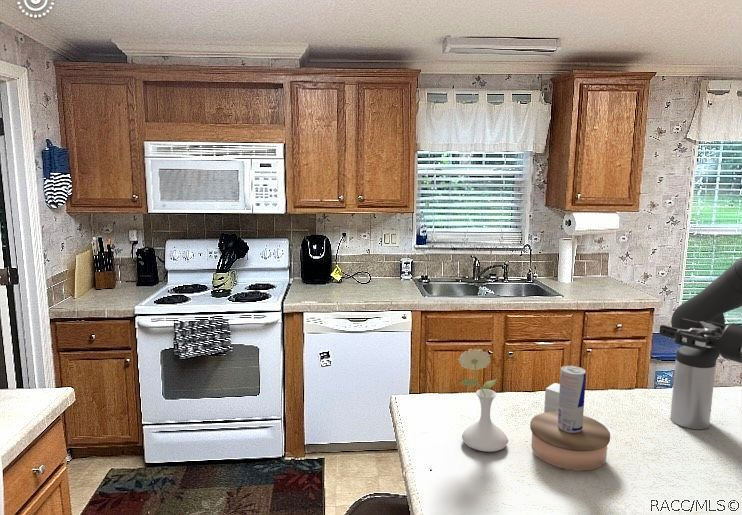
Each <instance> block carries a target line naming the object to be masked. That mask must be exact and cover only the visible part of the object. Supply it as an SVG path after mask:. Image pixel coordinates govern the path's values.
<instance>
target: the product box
mask: <svg viewBox="0 0 742 515" xmlns="http://www.w3.org/2000/svg"><path fill="white" fill-rule="evenodd" d="M559 390H560V383H557V382H554V383H552V384H550V385H548V387H546V388H545V392H544V393H545V394H544V408H543V413H545V412H553V411H558V408H559Z"/></svg>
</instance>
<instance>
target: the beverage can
mask: <svg viewBox="0 0 742 515" xmlns="http://www.w3.org/2000/svg"><path fill="white" fill-rule="evenodd" d="M586 372H587V371H586V369H584V368H582V367H579V366H575V365H564V366H561V368H560V374H559V375H560V378H559V384H560V390H559V408H558V427H559V428H560V429H561V430H563V431H565V432H569V433H577V432H580V431H582V429H583V415H584V413H585V412H584V410H585V409H584V408H585V394H586V379H587V378H586V377H587V374H586Z"/></svg>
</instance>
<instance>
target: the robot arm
mask: <svg viewBox="0 0 742 515" xmlns="http://www.w3.org/2000/svg"><path fill="white" fill-rule="evenodd" d="M739 308H742V256H741V257H740V258H738V259H737V260H736V261H735V262H734V263H732V264H731V265H730V266H729V267H728V268H727V269H725V271H724V272H722V273H721V274H720V275H719V276H717V277H716V278H715V279H714V280H713V281H712V282H711V283H709V284H708V285H707V286H705V288H704V289H702V290H701V291H699V293H697V294H696V295H694V296H693V297H691V298H690V299H687V300H686V301H685V302H683V303H681V304H679V305H678V307H676V308H675V309H674V311H673V313H672V316H671V320H670V325H671V326H669V325H666V324H662V325H660V326H659V335H661V336H663V337H667V338H671V339H674V343H675V344H676V345H681V346H680V347H678V348H677V350H676V353H675V354H676V355H675V361H674V362H675V364H674V373H673V374H674V376H673V383H672V394H671V395H672V397H671V404H670V405H671V406H670V414H669V415H670V420H671V421H672V422H673V423H675V424H676V425H678V426H680V427H683V428H687V429H692V430H706V429H708V428H709V427H710V423H711V422H710V421H711V413H712V405H713V394H714V387H715V386H714V385H715V375H716V365H717V361H718V358H719V357H720V356H721V358H723V359H726V360H729V361H731V362H736V363H739V364H742V325H741V324H737V323H734V322H733V323H729V324H726V318H725V313H728V312H730V311H733V310H735V309H739Z"/></svg>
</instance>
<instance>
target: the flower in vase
mask: <svg viewBox="0 0 742 515" xmlns="http://www.w3.org/2000/svg"><path fill="white" fill-rule="evenodd" d="M457 360H458V362H459V364H460V366H461V367H462V368H463V369H465V370H466V369H468V370H469V371H474V378H475V380H473V379H471V378H466V379H464V380H462V381H461V382H460V383H459V385H464V386H468V387H473V386H475V385H476V384H477V385H478V387H479V388H480V389H477V390H476V391H475V394H476V396H477V397H478V400H479V402H480V418H479V420H478V421H476V422H474V423H472V424H471V425H469V426H468V427H466V428H465V429H464V431H463V432H462V434H461V438H462V439H461V440H463V442H464V444H465V445H467V447H469V448H470V449H474V450H476V451H481V452H487V453H488V452H497V451H501V450H503V449H504V448H505V447H506V446H507V445H508V444H509V443H508V442H509V439H508V436H507V434H506V433H505V431H504V430H502V429H501V428H500V427H499V426H497V424H495V423H494V422H492V419H491V407H492V402H493V401H494V399H495V398H496V396H497V392H496V391H494V390H492V389H491V388H492V387H494V386H495V385H496V384H497V380H498V379H497V378H495V379H493V380H488V381H485V383H484V384H483V385H482V386H481V385H480V383H479V382H478V379H477V378H478V377H477V370H482V369H485V368H487V366H489V364H490V363H491V362H492V361H491V357H490V354H489V353H488V352H487V351H483V349H482V348H479V349H478V348H474V349H472V348H469V349H468V351H467V350H464V352H461V354H460V356H459V358H457Z"/></svg>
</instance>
